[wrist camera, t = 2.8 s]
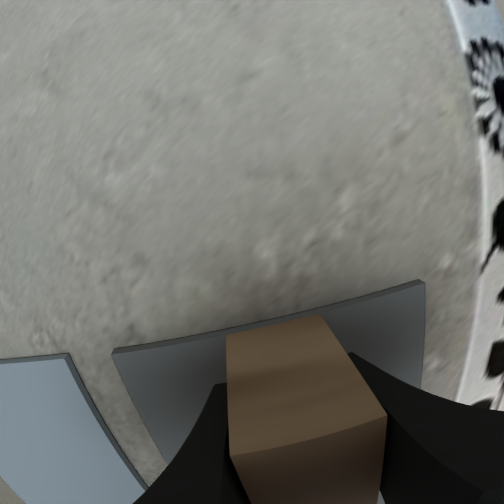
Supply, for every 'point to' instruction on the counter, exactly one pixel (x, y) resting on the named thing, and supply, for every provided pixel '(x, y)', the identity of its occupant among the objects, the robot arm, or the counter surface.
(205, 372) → the charcoal mat
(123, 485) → the slate mat
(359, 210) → the counter surface
